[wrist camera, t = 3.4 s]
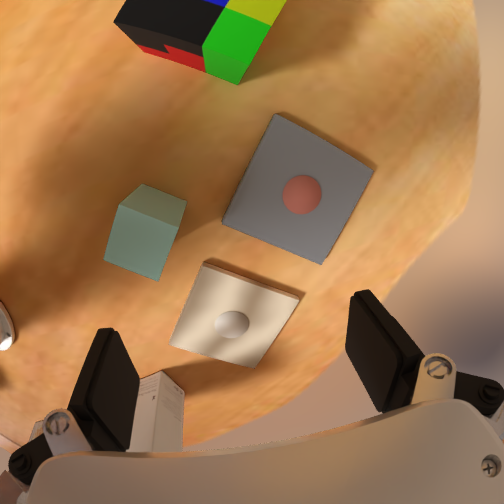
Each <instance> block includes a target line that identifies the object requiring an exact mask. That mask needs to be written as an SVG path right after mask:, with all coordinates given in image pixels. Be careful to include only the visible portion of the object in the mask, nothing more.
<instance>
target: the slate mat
mask: <svg viewBox="0 0 504 504" xmlns="http://www.w3.org/2000/svg"><path fill="white" fill-rule="evenodd" d="M373 172H374V171H373V170H372V169H370V168H369V167H367V166H366V165H364V164H363V163H361V162H360V161H358V160H357V159H355V158H353V157H352V156H350V155H349V154H347V153H345V152H344V151H342V150H340V149H339V148H337V147H335V146H334V145H332V144H330V143H329V142H327V141H325V140H324V139H322V138H320V137H318V136H317V135H315V134H313V133H311V132H309V131H308V130H306V129H304V128H302V127H300V126H299V125H297V124H295V123H293V122H291V121H289V120H287V119H285V118H283V117H281V116H279V115H277V114H274V115H273V117H272V119H271V121H270V123H269V125H268V127H267V129H266V131H265V133H264V135H263V137H262V139H261V141H260V143H259V145H258V147H257V149H256V151H255V153H254V155H253V157H252V159H251V161H250V163H249V165H248V167H247V169H246V171H245V173H244V175H243V177H242V179H241V181H240V183H239V185H238V187H237V189H236V191H235V194H234V196H233V198H232V200H231V202H230V204H229V206H228V208H227V210H226V213H225V215H224V217H223V219H222V224H223V225H226V226H228V227H231V228H233V229H236V230H238V231H240V232H243V233H245V234H248V235H250V236H253V237H255V238H257V239H260V240H262V241H265V242H267V243H270V244H272V245H274V246H277V247H279V248H282V249H284V250H286V251H289V252H291V253H293V254H296V255H298V256H301V257H303V258H305V259H308V260H310V261H313V262H315V263H317V264H320V265H322V263H323V261H324V260H325V258H326V256H327V255H328V253H329V251H330V250H331V248H332V246H333V244H334V243H335V241H336V239H337V238H338V236H339V234H340V232H341V231H342V229H343V227H344V225H345V223H346V222H347V220H348V218H349V216H350V214H351V213H352V211H353V209H354V207H355V205H356V204H357V202H358V200H359V198H360V196H361V194H362V192H363V191H364V189H365V187H366V185H367V183H368V181H369V179H370V177H371V175H372V173H373Z"/></svg>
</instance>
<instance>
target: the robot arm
mask: <svg viewBox="0 0 504 504" xmlns="http://www.w3.org/2000/svg"><path fill="white" fill-rule="evenodd" d="M14 338H15V331H14V327H13V324H12V321H11V318H10V316H9V314H8V312H7V310H6V309H5V307H4V306H3V304H2V303H1V301H0V350H1V351H3V350H7V349H9V348H10V347H11V345H12V344H13V342H14ZM345 349H346V353H347V355H348V357H349V358H350V360H351V362H352V364H353V366H354V368H355V370H356V371H357V373H358V375H359V377H360V379H361V381H362V382H363V385H364V386H365V388H366V390H367V392H368V394H369V396H370V398H371V400H372V402H373V404H374V406H375V407H376V409H377V411H378V412H382V413H383V414H380V415H378V416H374V417H371V418H368V419H365V420H361V421H358V422H355V423H351V424H348V425H345V426H341V427H337V428H334V429H330V430H326V431H323V432H318V433H314V434H310V435H305V436H301V437H296V438H291V439H286V440H281V441H276V442H270V443H264V444H258V445H251V446H244V447H236V448H227V449H217V450H205V451H191V452H126V450H128V449H129V448H130V442H131V435H132V428H133V422H134V415H135V409H136V403H137V398H138V392H139V387H140V378H139V375H138V373H137V371H136V369H135V367H134V365H133V363H132V361H131V359H130V357H129V355H128V353H127V350H126V348H125V346H124V344H123V342H122V339H121V337H120V335H119V333H118V331H114V329H113V328H100V329H98V331H97V333H96V336H95V338H94V340H93V343H92V345H91V347H90V350H89V352H88V354H87V357H86V359H85V362H84V364H83V367H82V369H81V372H80V375H79V377H78V380H77V382H76V385H75V388H74V391H73V393H72V396H71V399H70V402H69V405H68V408H67V410H66V409H62V408H61V409H56V410H53V411H51V412H50V413H49V414H48V415H47V416H46V417H45V419H44V421H43V425H42V429H43V433H42V434H41V435H39V436H38V437H36V438H35V439H33V440H32V441H30V442H28V443H27V444H25V445H24V446H22V447H21V448H19V449H17V450H16V451H15V452H14V453H12V455H11V457H10V459H9V465H8V466H9V471H8V472H7V471H6V470H5V471H4V472H3V473H2V474H1V475H0V504H504V389H503V387H502V386H501V385H500V384H499V383H498V382H496V381H494V380H491V379H487V378H483V377H478V376H474V375H470V374H465V373H462V372H457V371H456V366H455V364H454V362H453V361H452V360H451V359H450V358H449V357H447V356H446V355H443V354H436V353H434V354H429V355H427V356H425V355H424V354H423V353H422V351H421V350H420V349H419V348H418V346H417V345H416V344H415V342H414V341H413V340H412V339H411V338H410V336H409V335H408V334H407V333H406V331H405V330H404V329H403V328H402V326H401V325H400V324H399V323H398V322H397V320H396V319H395V318H394V317H393V316H391V315H390V314H389V312H388V311H387V310H386V309H385V308H384V306H383V305H382V304H381V303H380V302H379V300H378V299H377V298H376V297H375V296H374V294H373V293H372V292H371V291H370V290H369V289H367V290H362V291H357V292H355V293H354V296H352V297H351V298H350V307H349V317H348V327H347V335H346V343H345Z"/></svg>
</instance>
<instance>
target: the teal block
mask: <svg viewBox="0 0 504 504" xmlns="http://www.w3.org/2000/svg"><path fill="white" fill-rule="evenodd" d="M186 204H187V201H185V200H182V199H180V198H177V197H175V196H172V195H170V194H167V193H165V192H162V191H160V190H157V189H155V188H152V187H150V186H147V185H145V184H141V185H140V186H139V187H138V188H137V189H135V190H134V191H133V192H132V193H131V194H130V195H129V196H127V197H126V198H125V199H124V200H123V201H122V202H121V203H120V204H119V206H118V209H117V212H116V215H115V219H114V222H113V225H112V229H111V232H110V236H109V240H108V243H107V247H106V251H105V255H104V259H103V260H105V261H107V262H109V263H112V264H114V265H117V266H119V267H122V268H124V269H127V270H129V271H132V272H135V273H137V274H140V275H142V276H145V277H147V278H150V279H153V280H155V281H159V278H160V276H161V273H162V270H163V268H164V265H165V262H166V260H167V257H168V254H169V252H170V249H171V247H172V244H173V241H174V239H175V236H176V234H177V231H178V229H179V226H180V223H181V220H182V217H183V213H184V210H185V207H186Z"/></svg>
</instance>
